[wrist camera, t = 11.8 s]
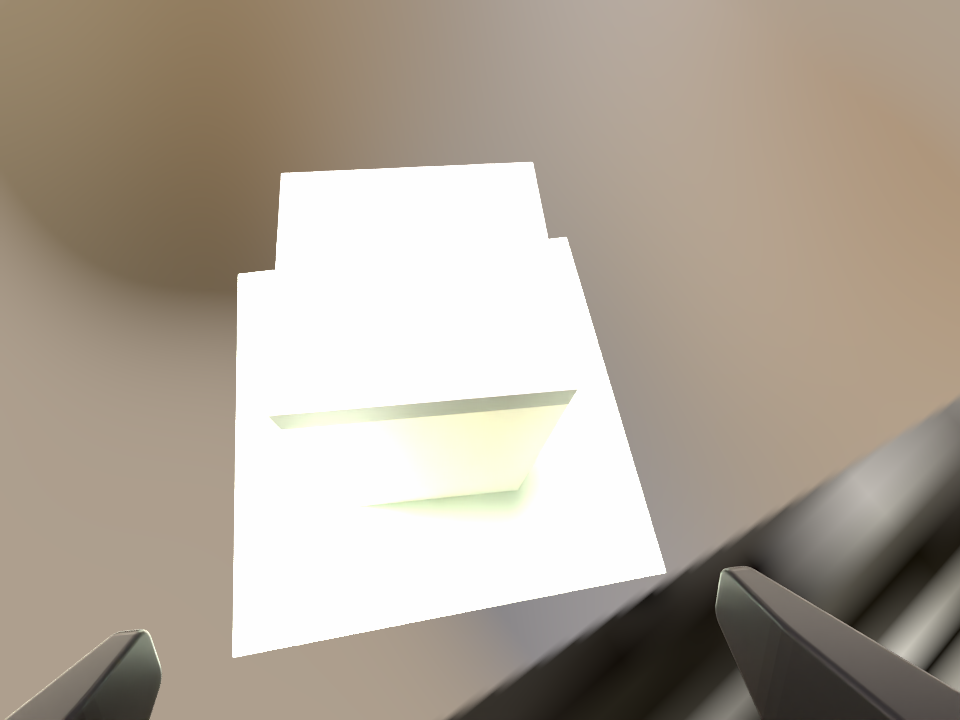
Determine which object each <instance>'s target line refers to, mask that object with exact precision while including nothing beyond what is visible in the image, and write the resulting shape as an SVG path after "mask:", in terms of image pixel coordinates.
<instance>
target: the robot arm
mask: <svg viewBox="0 0 960 720" xmlns="http://www.w3.org/2000/svg"><path fill="white" fill-rule="evenodd" d="M716 616H717V619H718V622H719V625H720V627H721V629H722V632H723V634H724V636H725V638H726V641H727V643H728V645H729V647H730V650H731V652H732V654H733V657H734V659H735V661H736V663H737V666H738V668H739V670H740V672H741V675H742V677H743V679H744V681H745V684H746V686H747V688H748V690H749V693H750V695H751V697H752V699H753V702H754V704H755V706H756V708H757V710H758V712H759V714H760V717H761V719H762V720H960V692H959V691H957V690H955V689H954V688H952V687H950V686H949V685H947V684H945V683H944V682H942V681H940V680H939V679H937V678H935V677H934V676H932V675H930V674H929V673H927V672H925V671H924V670H922V669H920V668H919V667H917V666H915V665H914V664H912V663H910V662H909V661H907V660H905V659H903V658H902V657H900V656H898V655H897V654H895V653H893V652H892V651H890V650H888V649H887V648H885V647H883V646H882V645H880V644H878V643H877V642H875V641H873V640H872V639H870V638H868V637H867V636H865V635H863V634H862V633H860V632H858V631H857V630H855V629H853V628H851V627H850V626H848V625H846V624H845V623H843V622H841V621H840V620H838V619H836V618H835V617H833V616H831V615H830V614H828V613H826V612H825V611H823V610H821V609H820V608H818V607H816V606H815V605H813V604H811V603H810V602H808V601H806V600H805V599H803V598H801V597H799V596H798V595H796V594H794V593H793V592H791V591H789V590H788V589H786V588H784V587H783V586H781V585H779V584H778V583H776V582H774V581H773V580H771V579H769V578H768V577H766V576H764V575H763V574H761V573H759V572H758V571H756V570H754V569H752V568H750V567H746V566H742V567H732V568H726V569H724V570H723V571H722V572H721V575H720V581H719V587H718V594H717V600H716ZM161 677H162V672H161V666H160V663H159V660H158V657H157V654H156V651H155V648H154V645H153V642H152V639H151V636H150V634H149V633H148V632H147V631H146V630H143V629H140V630H130V631H121V632H118V633H115V634H113V635H112V636H110V637H109V638H108V639H106V640H105V641H104V642H102V643H101V644H100V645H99V646H97V647H96V648H95V649H94V650H92V651H91V652H90V653H89V654H87V655H86V656H85V657H83V658H82V659H81V660H80V661H78V662H77V663H76V664H75V665H73V666H72V667H71V668H70V669H68V670H67V671H66V672H64V673H63V674H62V675H61V676H59V677H58V678H57V679H56V680H54V681H53V682H52V683H50V684H49V685H48V686H47V687H45V688H44V689H43V690H42V691H40V692H39V693H38V694H37V695H35V696H34V697H33V698H32V699H30V700H29V701H28V702H27V703H25V704H24V705H23V706H22V707H20V708H19V709H18V710H16V711H15V712H14V713H12V714H11V715H10V716H9V717H7V718H6V719H5V720H149V719H150V716H151V713H152V710H153V706H154V704H155V700H156V697H157V694H158V691H159V688H160V684H161Z"/></svg>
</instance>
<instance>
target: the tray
mask: <svg viewBox="0 0 960 720" xmlns="http://www.w3.org/2000/svg"><path fill="white" fill-rule="evenodd" d="M548 241H549V246H550V251H551V256H552V261H553V266H554V271H555V276H556V280H557V285H558V290H559V295H560V300H561V305H562V310H563V315H564V320H565V325H566V330H567V335H568V340H569V345H570V350H571V355H572V360H573V365H574V370H575V375H576V380H577V385H578V390H577V392H576V394H575V395H574V397H573V399H572V400H571V402H570V404H569V405H568V407H567V409H566V410H565V412H564V414H563V415H562V417H561V419H560V420H559V422H558V424H557V425H556V427H555V429H554V430H553V432H552V434H551V435H550V437H549V439H548V440H547V442H546V444H545V445H544V447H543V449H542V450H541V452H540V454H539V455H538V457H537V459H536V460H535V462H534V464H533V465H532V467H531V469H530V471H529V472H528V474H527V476H526V477H525V479H524V481H523V482H522V484H521V486H520V487H519V489H518V490H514V491H505V492H495V493H485V494H476V495H466V496H456V497H446V498H437V499H427V500H417V501H408V502H398V503H388V504H379V505H369V506H359V507H356V506H355V505H354V504H353V503H352V502H351V501H350V500H349V499H348V498H347V497H346V496H345V495H344V494H343V493H342V492H341V491H340V490H339V489H338V488H337V487H336V486H335V485H334V484H333V483H332V482H331V480H330V479H329V478H328V477H327V476H326V475H325V474H324V473H323V472H322V471H321V470H320V469H319V468H318V467H317V466H316V465H315V464H314V463H313V462H312V461H311V460H310V459H309V458H308V457H307V456H306V455H305V454H304V453H303V452H302V451H301V450H300V449H299V448H298V447H297V446H296V445H295V444H294V443H293V442H292V441H291V440H290V439H289V438H288V437H287V436H286V435H285V434H284V433H283V432H282V431H281V430H280V429H279V428H278V427H277V425H276V424H275V423H274V422H273V421H272V420H271V419H270V418H269V417H268V416H267V407H268V390H269V373H270V356H271V340H272V323H273V306H274V289H275V272H276V270H273V271H264V272H255V273H246V274H239V275H238V330H237V331H238V333H237V336H238V337H237V400H236V401H237V402H236V471H235V473H236V474H235V537H234V605H233V607H234V608H233V609H234V610H233V657H238V656H243V655H248V654H254V653H259V652H264V651H269V650H274V649H279V648H284V647H289V646H294V645H299V644H305V643H310V642H314V641H320V640H325V639H330V638H335V637H340V636H345V635H351V634H355V633H361V632H366V631H371V630H376V629H381V628H386V627H391V626H397V625H402V624H406V623H412V622H416V621H422V620H427V619H432V618H437V617H442V616H448V615H453V614H458V613H463V612H468V611H473V610H478V609H483V608H488V607H493V606H498V605H503V604H509V603H514V602H519V601H524V600H529V599H534V598H539V597H545V596H550V595H555V594H560V593H565V592H570V591H575V590H580V589H585V588H590V587H596V586H601V585H605V584H611V583H616V582H621V581H626V580H631V579H636V578H641V577H647V576H652V575H657V574H661V573H666V570H665V567H664V563H663V560H662V557H661V553H660V550H659V547H658V543H657V540H656V536H655V533H654V530H653V527H652V523H651V520H650V516H649V513H648V510H647V507H646V503H645V500H644V496H643V493H642V490H641V486H640V483H639V479H638V476H637V473H636V469H635V466H634V463H633V459H632V456H631V453H630V449H629V446H628V443H627V439H626V436H625V433H624V430H623V426H622V422H621V419H620V416H619V412H618V410H617V406H616V403H615V399H614V396H613V392H612V389H611V386H610V382H609V379H608V376H607V372H606V369H605V365H604V362H603V359H602V356H601V352H600V349H599V345H598V342H597V339H596V335H595V332H594V329H593V325H592V322H591V319H590V316H589V312H588V308H587V305H586V302H585V298H584V295H583V292H582V288H581V285H580V282H579V278H578V275H577V272H576V268H575V265H574V262H573V258H572V255H571V252H570V249H569V245H568V241H567V238H566V237H564V238H555V239H548Z"/></svg>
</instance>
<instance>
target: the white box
mask: <svg viewBox="0 0 960 720" xmlns="http://www.w3.org/2000/svg"><path fill="white" fill-rule="evenodd" d="M577 390H578V385H577V380H576V375H575V370H574V365H573V360H572V355H571V350H570V345H569V340H568V335H567V330H566V325H565V320H564V315H563V310H562V305H561V300H560V295H559V290H558V285H557V280H556V276H555V271H554V266H553V261H552V256H551V251H550V246H549V241H548V236H547V231H546V226H545V221H544V216H543V211H542V206H541V202H540V196H539V191H538V186H537V181H536V176H535V171H534V166H533V162H526V163H525V162H524V163H502V164H481V165H480V164H479V165H457V166H435V167H412V168H390V169H369V170H346V171H325V172H304V173H303V172H301V173H282V174H281V188H280V206H279V221H278V238H277V256H276V272H275V289H274V306H273V323H272V340H271V356H270V373H269V390H268V407H267V416H268V417H269V418H270V419H271V420H272V421H273V422H274V423H275V424H276V425H277V427H278V428H279V429H280V430H281V431H282V432H283V433H284V434H285V435H286V436H287V437H288V438H289V439H290V440H291V441H292V442H293V443H294V444H295V445H296V446H297V447H298V448H299V449H300V450H301V451H302V452H303V453H304V454H305V455H306V456H307V457H308V458H309V459H310V460H311V461H312V462H313V463H314V464H315V465H316V466H317V467H318V468H319V469H320V470H321V471H322V472H323V473H324V474H325V475H326V476H327V477H328V478H329V479H330V480H331V482H332V483H333V484H334V485H335V486H336V487H337V488H338V489H339V490H340V491H341V492H342V493H343V494H344V495H345V496H346V497H347V498H348V499H349V500H350V501H351V502H352V503H353V504H354V505H355V506H356V507H359V506H369V505H379V504H388V503H398V502H408V501H417V500H427V499H437V498H446V497H456V496H466V495H476V494H485V493H495V492H505V491H514V490H518V489H519V487H520V486H521V484H522V482H523V481H524V479H525V477H526V476H527V474H528V472H529V471H530V469H531V467H532V465H533V464H534V462H535V460H536V459H537V457H538V455H539V454H540V452H541V450H542V449H543V447H544V445H545V444H546V442H547V440H548V439H549V437H550V435H551V434H552V432H553V430H554V429H555V427H556V425H557V424H558V422H559V420H560V419H561V417H562V415H563V414H564V412H565V410H566V409H567V407H568V405H569V404H570V402H571V400H572V399H573V397H574V395H575V394H576V392H577Z"/></svg>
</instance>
